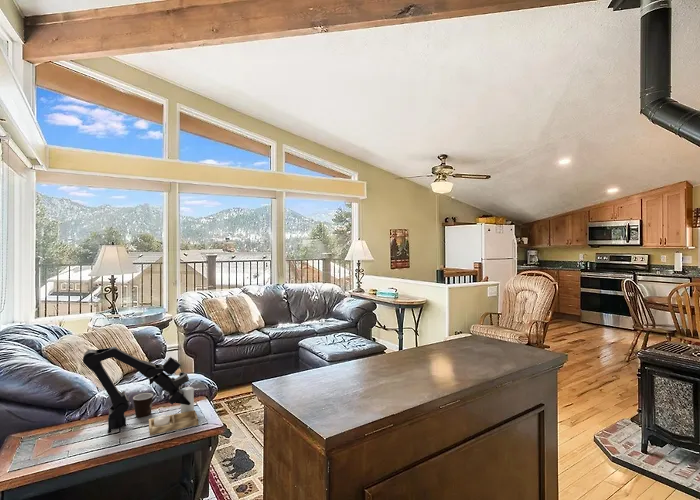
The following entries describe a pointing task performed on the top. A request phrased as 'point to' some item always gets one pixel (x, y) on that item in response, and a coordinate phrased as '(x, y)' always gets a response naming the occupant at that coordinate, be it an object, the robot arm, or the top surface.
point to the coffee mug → (143, 404)
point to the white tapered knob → (190, 397)
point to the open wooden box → (175, 422)
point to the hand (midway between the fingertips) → (190, 401)
